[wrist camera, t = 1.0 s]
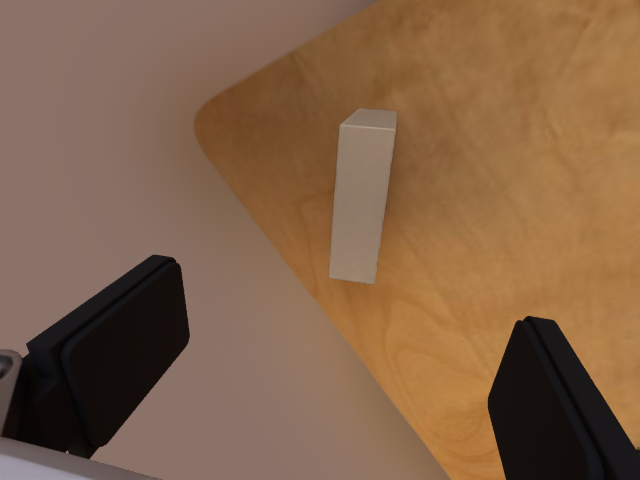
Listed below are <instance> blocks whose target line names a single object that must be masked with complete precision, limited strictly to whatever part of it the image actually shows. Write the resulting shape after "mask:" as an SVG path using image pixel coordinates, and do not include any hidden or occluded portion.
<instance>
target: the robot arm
mask: <svg viewBox="0 0 640 480" xmlns="http://www.w3.org/2000/svg"><path fill="white" fill-rule="evenodd" d="M189 337H190V333H189V326H188V318H187V310H186V303H185V295H184V287H183V280H182V272H181V267H180V265H179V264H178V263H176V260H175V259H174V258H172V257H167V256H161V255H152V256H150V257H149V258H147V259H146V260H145V261H143V262H142V263H140V264H139V265H137V266H136V267H134V268H133V269H132V270H130V271H129V272H127V273H126V274H125V275H123V276H122V277H120V278H119V279H117V280H116V281H115V282H113V283H112V284H110V285H109V286H107V287H106V288H105V289H103V290H102V291H101V292H99V293H98V294H96V295H95V296H93V297H92V298H90V299H89V300H88V301H86V302H85V303H83V304H82V305H80V306H79V307H78V308H76V309H75V310H73V311H72V312H71V313H69V314H68V315H66V316H65V317H63V318H62V319H61V320H59V321H58V322H56V323H55V324H53V325H52V326H51V327H49V328H48V329H46V330H45V331H44V332H42V333H41V334H39V335H38V336H36V337H35V338H34V339H32V340H31V341H29V342H28V343H26V345H27V348H28V350H29V354H28V355H26V356H25V357H24V358H22V357H21V355H20V354H19V353H18V352H16V351H13V350H3V349H1V350H0V480H161V479H158V478H154V477H150V476H147V475H143V474H140V473H136V472H133V471H129V470H125V469H122V468H118V467H115V466H111V465H107V464H104V463H100V462H96V461H92V460H89V459H90V458H91V456H92V455H93V454H94V453H95V451H96V450H97V449H98V448H99V447H102V446H104V445H106V444H107V443H108V442H109V441H110V440H111V438H112V437H113V436H114V435H115V434H116V432H117V431H118V430H119V428H120V427H121V426H122V425H123V424H124V422H125V421H126V420H127V419H128V417H129V416H130V415H131V414H132V412H133V411H134V410H135V409H136V408H137V406H138V405H139V404H140V403H141V401H142V400H143V399H144V397H146V395H147V394H148V393H149V392H150V390H151V389H152V388H153V387H154V385H155V384H156V383H157V382H158V380H159V379H160V378H161V377H162V375H163V374H164V373H165V372H166V371H167V369H168V368H169V367H170V366H171V364H172V363H173V362H174V361H175V360H176V358H177V357H178V356H179V355H180V353H181V352H182V351H183V350H184V348H185V347H186V346H187V344H188V341H189ZM488 410H489V414H490V418H491V422H492V426H493V430H494V434H495V438H496V442H497V446H498V450H499V454H500V458H501V461H502V465H503V469H504V473H505V477H506V480H640V455H639V454H638V452H637V451H636V449H635V447H634V446H633V444H632V443H631V441H630V439H629V438H628V436H627V435H626V433H625V431H624V430H623V428H622V427H621V425H620V423H619V422H618V420H617V419H616V417H615V415H614V414H613V412H612V411H611V409H610V407H609V406H608V404H607V403H606V401H605V399H604V398H603V396H602V395H601V393H600V391H599V390H598V389H597V387H596V386H595V384H594V382H593V381H592V379H591V378H590V376H589V374H588V373H587V371H586V370H585V368H584V366H583V365H582V363H581V362H580V360H579V358H578V357H577V355H576V354H575V352H574V350H573V349H572V347H571V346H570V344H569V342H568V341H567V339H566V338H565V336H564V334H563V333H562V331H561V330H560V328H559V326H558V325H557V323H556V322H555V321H554V320H550V319H544V318H538V317H532V316H527V317H526V318H525V319H524V320H523V321H521V320H518V321H517V322H516V324H515V326H514V328H513V331H512V334H511V337H510V339H509V342H508V345H507V347H506V350H505V353H504V356H503V358H502V361H501V364H500V366H499V369H498V372H497V374H496V377H495V380H494V383H493V385H492V388H491V391H490V393H489V397H488ZM67 450H68V452H69V454H67V453H65V452H66V451H67Z"/></svg>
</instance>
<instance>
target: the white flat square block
mask: <svg viewBox="0 0 640 480" xmlns="http://www.w3.org/2000/svg"><path fill="white" fill-rule="evenodd" d="M396 125H397V111H389V110H375V109H361V108H359V109H357V110H356V111H355V112H354V113H353V114H351V115H350V116H349V117H348V118H347V119H346V120H345V121H343V122H342V123H341V124H340V125H339V134H338V149H337V163H336V177H335V191H334V205H333V220H332V234H331V248H330V262H329V278H332V279H339V280H345V281H352V282H358V283H365V284H372V285H374V284H375V278H376V271H377V264H378V257H379V250H380V243H381V236H382V228H383V221H384V214H385V207H386V200H387V193H388V186H389V178H390V171H391V164H392V157H393V150H394V143H395V136H396Z"/></svg>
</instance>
